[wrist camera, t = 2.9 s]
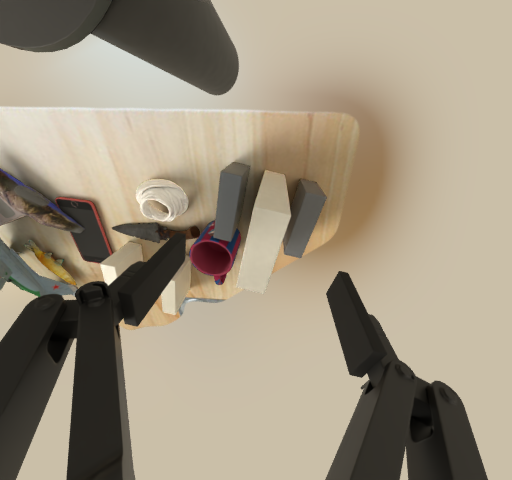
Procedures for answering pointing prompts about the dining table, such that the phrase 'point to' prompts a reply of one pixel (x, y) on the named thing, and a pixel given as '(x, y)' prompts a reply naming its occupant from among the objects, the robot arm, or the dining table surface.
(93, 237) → the smartphone
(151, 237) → the knife
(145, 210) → the white cloth wrap
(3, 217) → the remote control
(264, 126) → the dining table surface
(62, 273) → the fish
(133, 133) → the dining table surface
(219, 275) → the cup
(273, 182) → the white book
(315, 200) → the pair of grey blocks
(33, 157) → the dining table surface
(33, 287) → the airplane
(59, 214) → the decorative rock
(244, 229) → the dining table surface
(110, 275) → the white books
